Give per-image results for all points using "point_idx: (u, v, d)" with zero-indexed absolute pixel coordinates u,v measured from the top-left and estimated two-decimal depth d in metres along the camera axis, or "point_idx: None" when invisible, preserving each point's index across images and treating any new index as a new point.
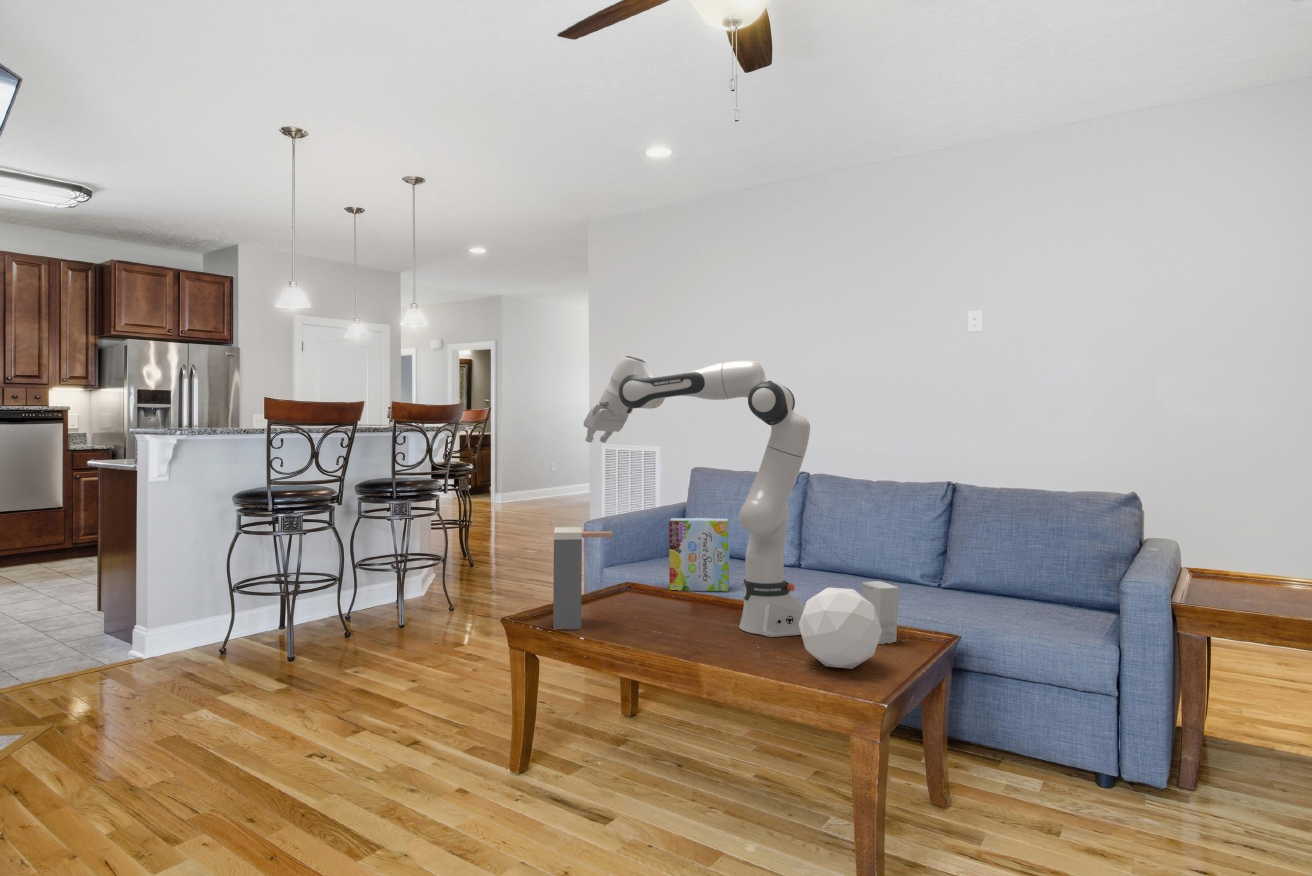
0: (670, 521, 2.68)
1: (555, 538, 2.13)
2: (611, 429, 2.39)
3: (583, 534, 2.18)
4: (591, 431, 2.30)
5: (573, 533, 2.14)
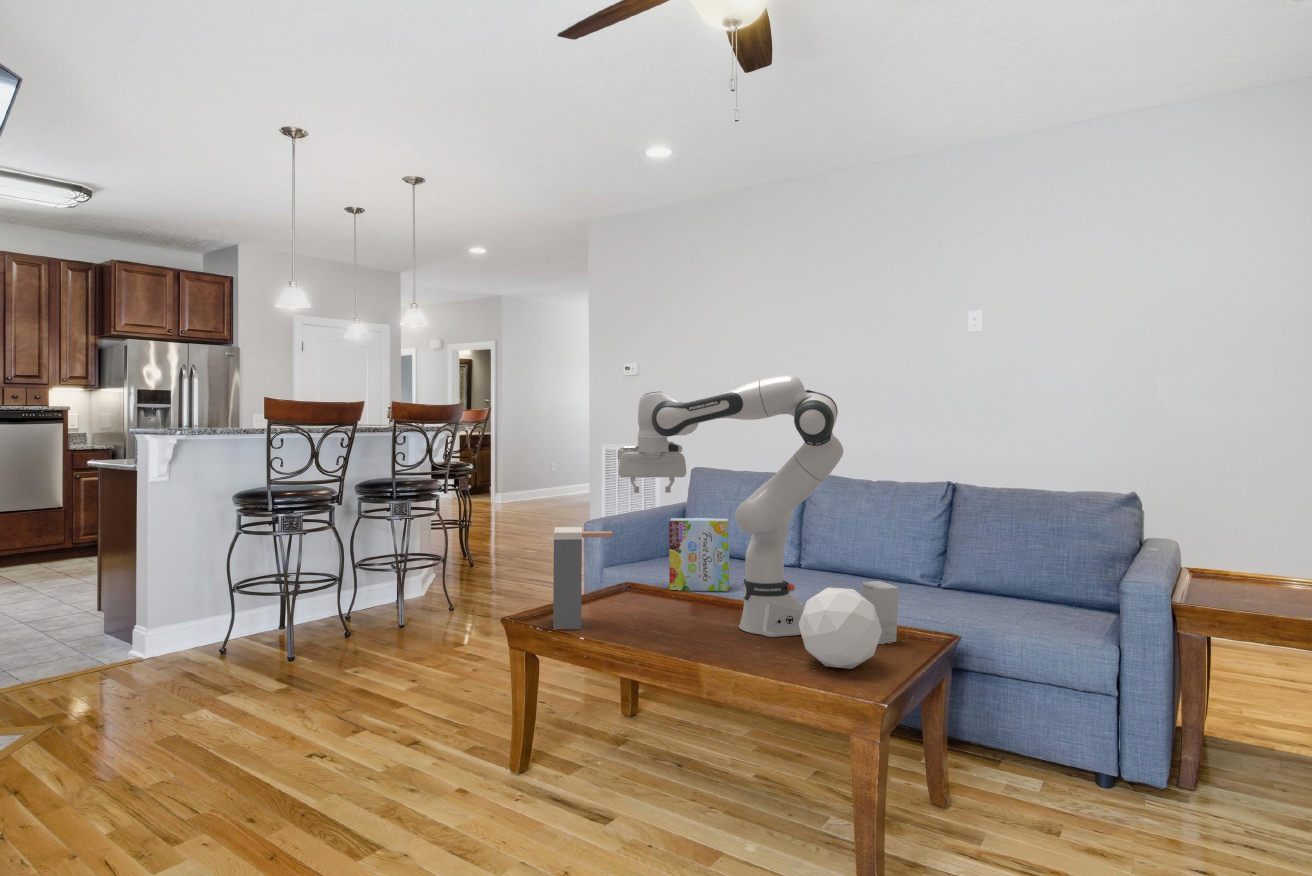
0: (670, 521, 2.68)
1: (555, 538, 2.13)
2: (664, 474, 2.20)
3: (583, 534, 2.18)
4: (630, 479, 2.21)
5: (573, 533, 2.14)
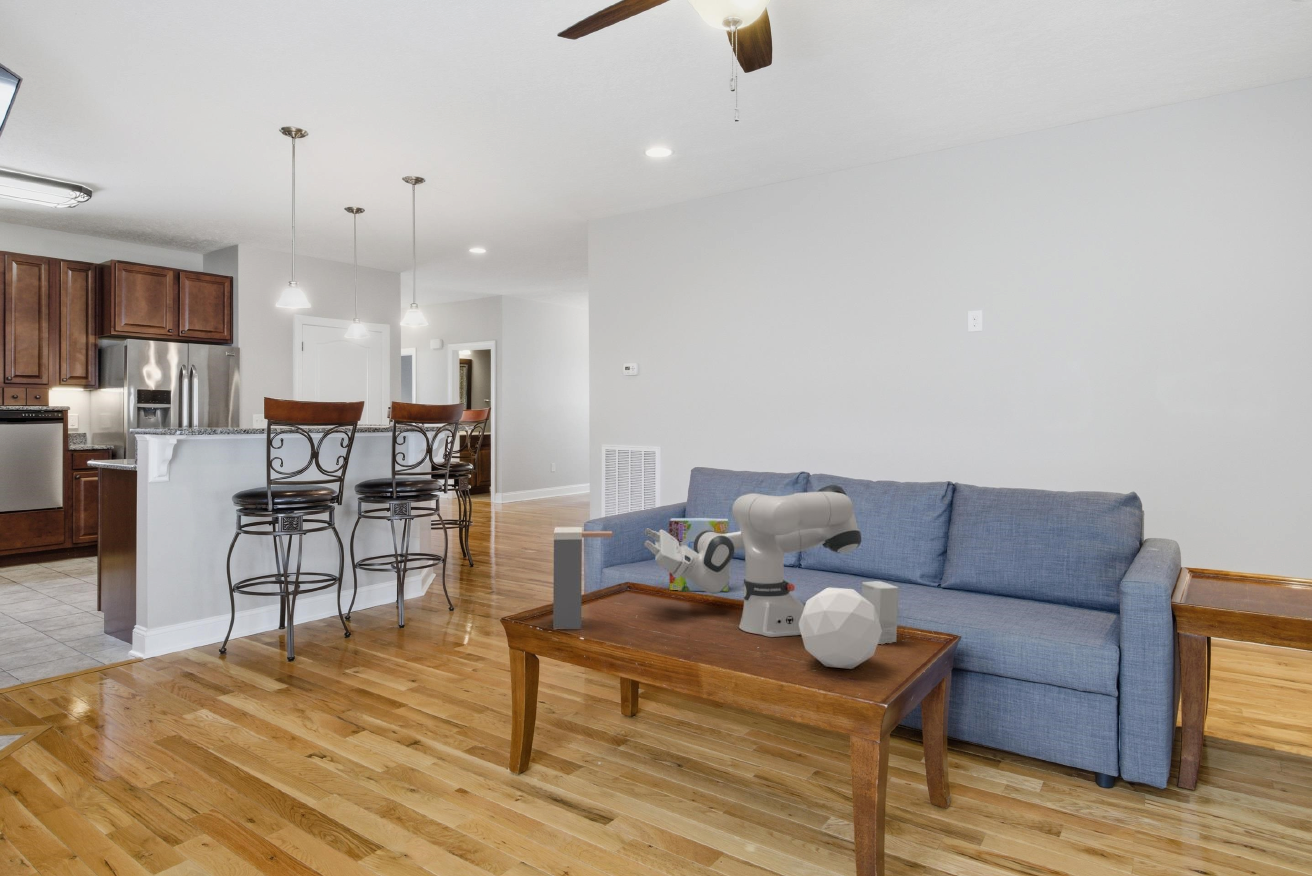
0: (670, 521, 2.68)
1: (555, 538, 2.13)
2: (663, 545, 2.29)
3: (583, 534, 2.18)
4: None
5: (573, 533, 2.14)
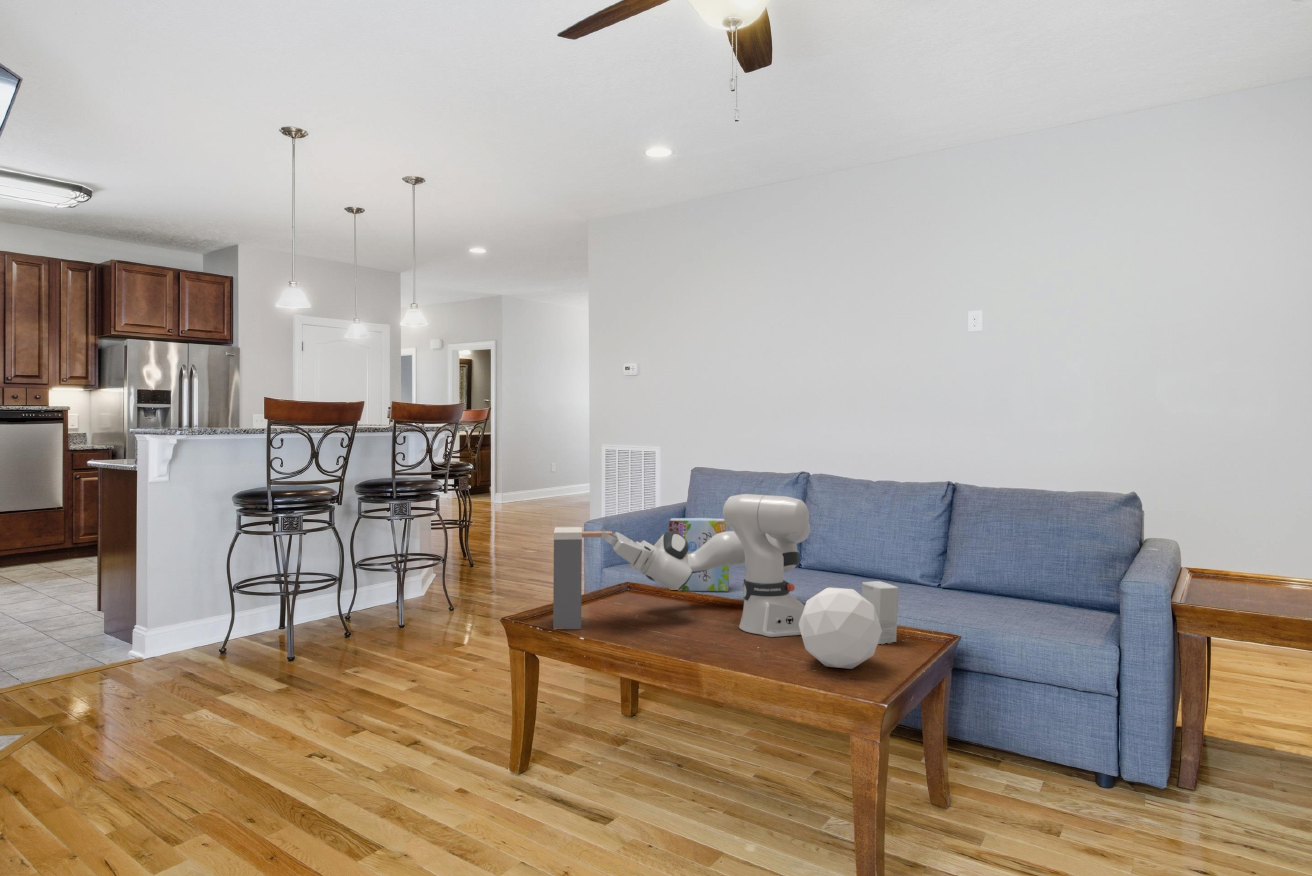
0: (670, 521, 2.68)
1: (555, 538, 2.13)
2: (620, 538, 2.18)
3: (583, 534, 2.18)
4: None
5: (573, 533, 2.14)
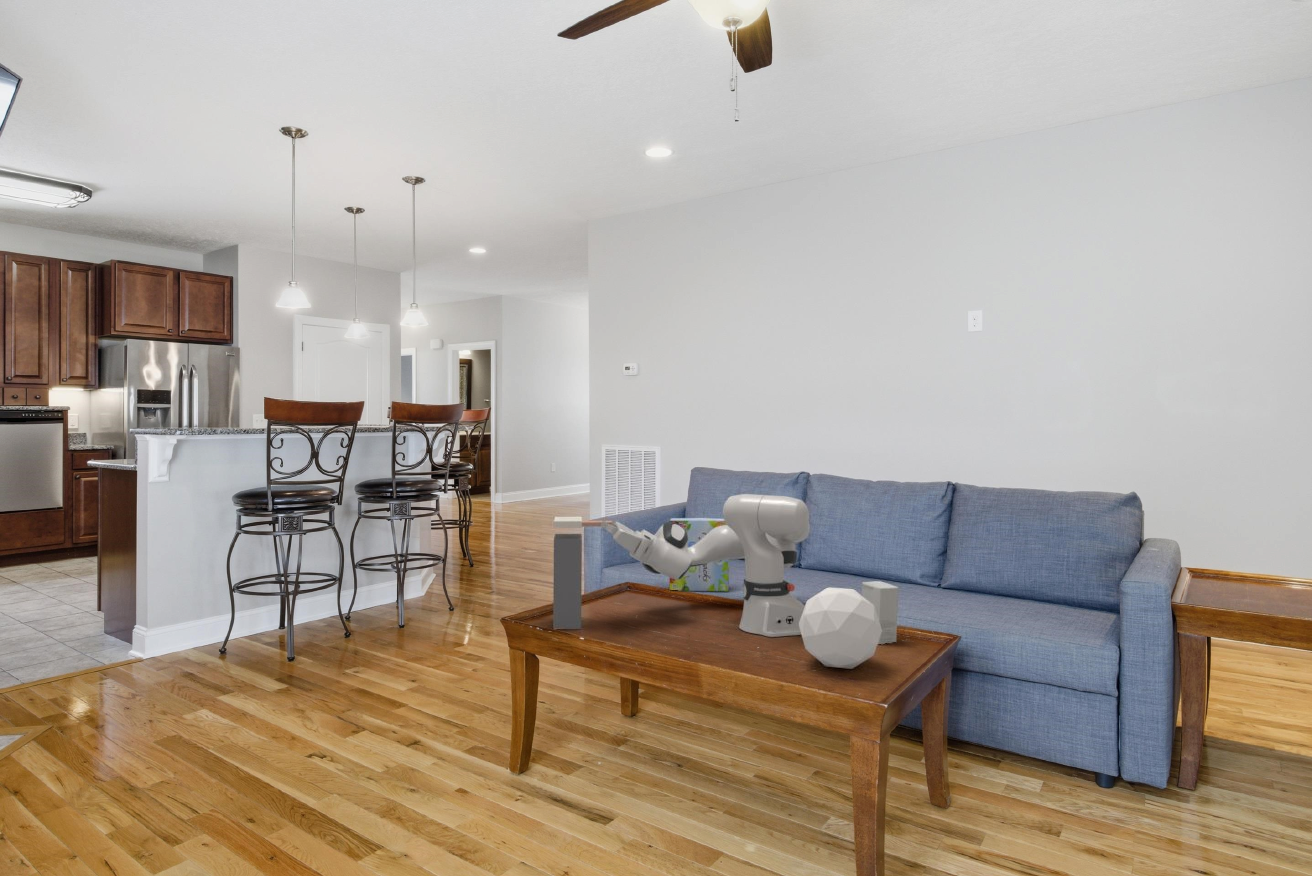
0: (670, 521, 2.68)
1: (555, 527, 2.13)
2: (620, 527, 2.18)
3: (583, 523, 2.18)
4: None
5: (573, 522, 2.14)
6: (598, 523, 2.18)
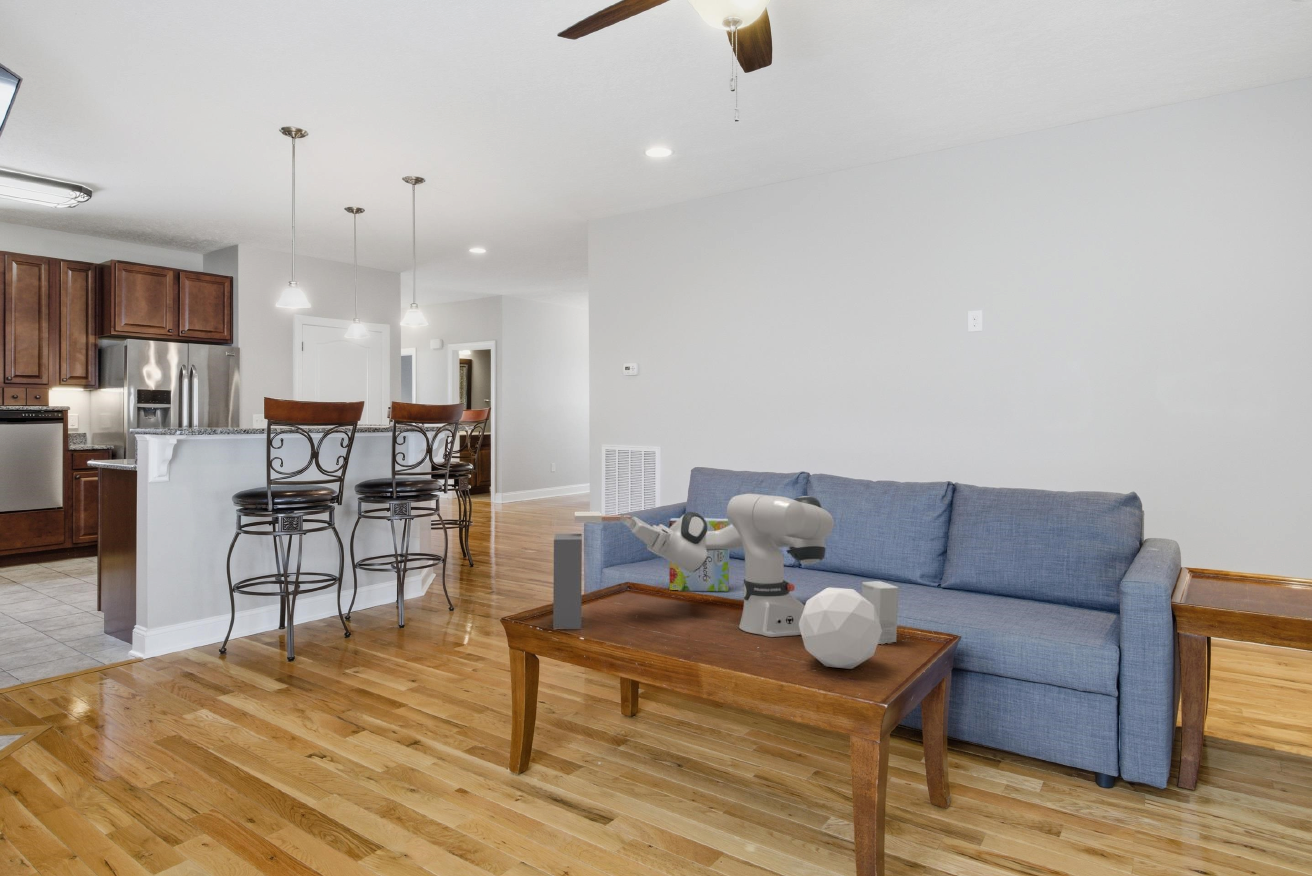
0: (670, 521, 2.68)
1: (576, 521, 2.20)
2: (638, 521, 2.25)
3: (602, 518, 2.25)
4: None
5: (593, 516, 2.21)
6: (617, 517, 2.26)
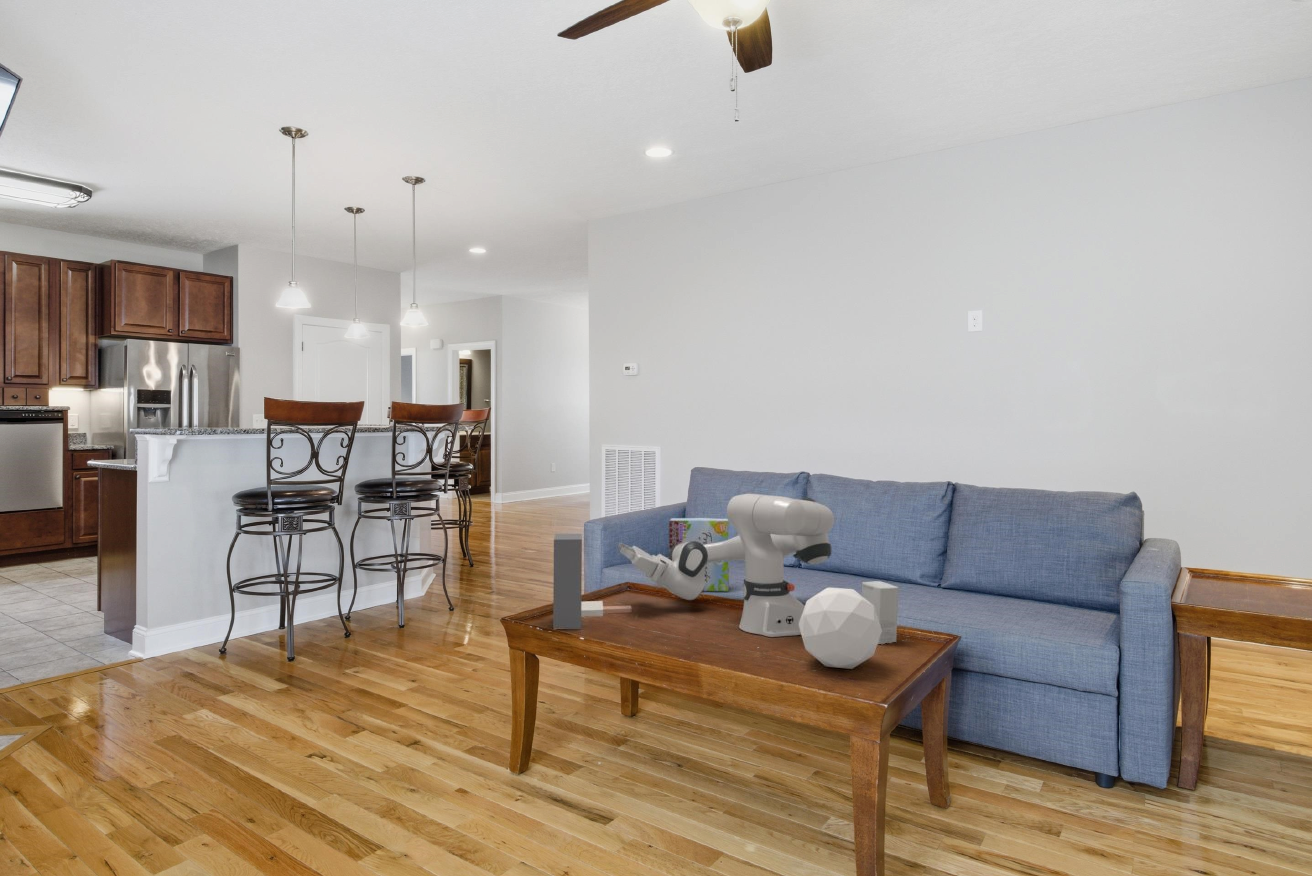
0: (670, 521, 2.68)
1: None
2: (638, 552, 2.33)
3: (604, 610, 2.34)
4: None
5: (595, 611, 2.30)
6: (618, 610, 2.34)
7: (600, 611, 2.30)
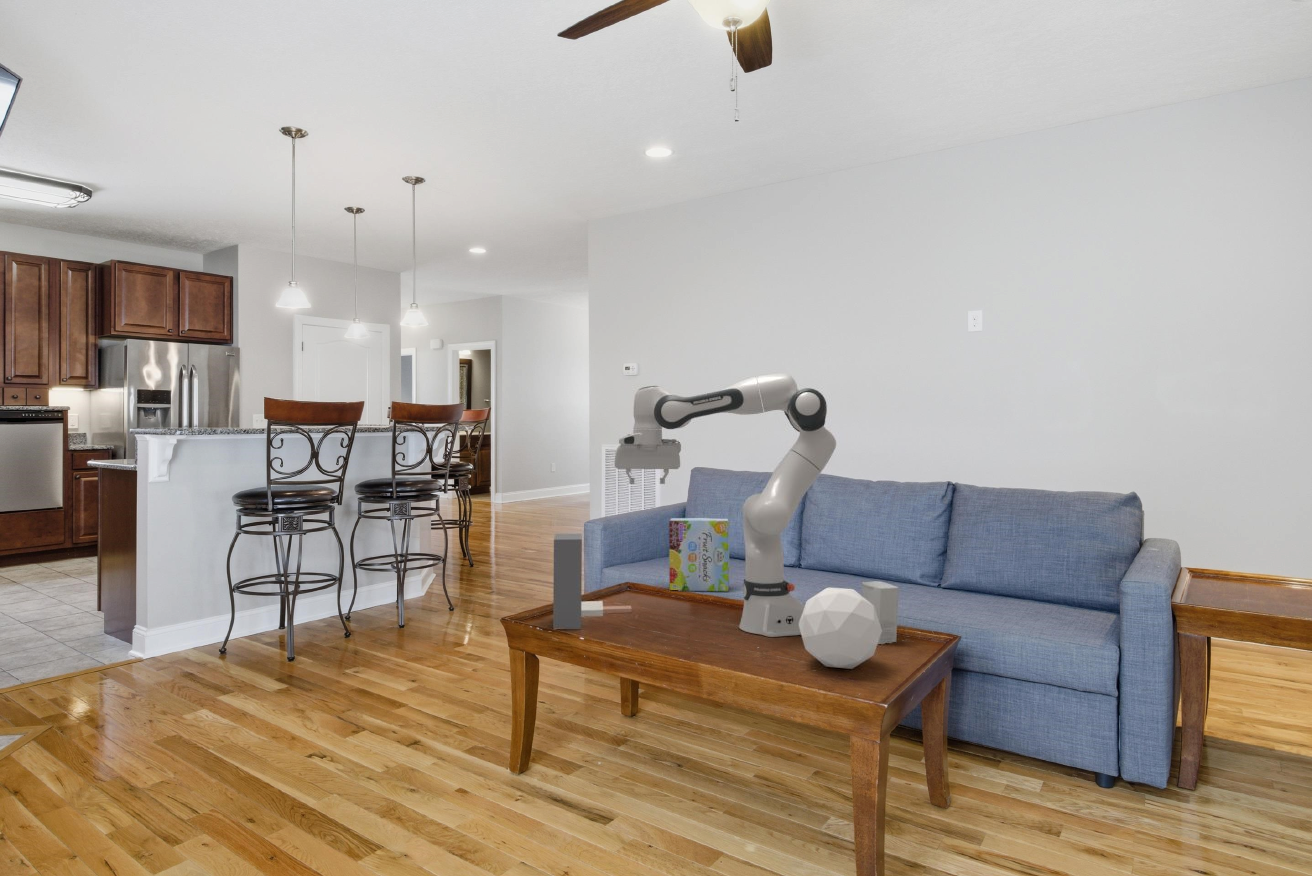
0: (670, 521, 2.68)
1: None
2: None
3: (604, 610, 2.34)
4: None
5: (595, 611, 2.30)
6: (618, 610, 2.34)
7: (600, 611, 2.30)
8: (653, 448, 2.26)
